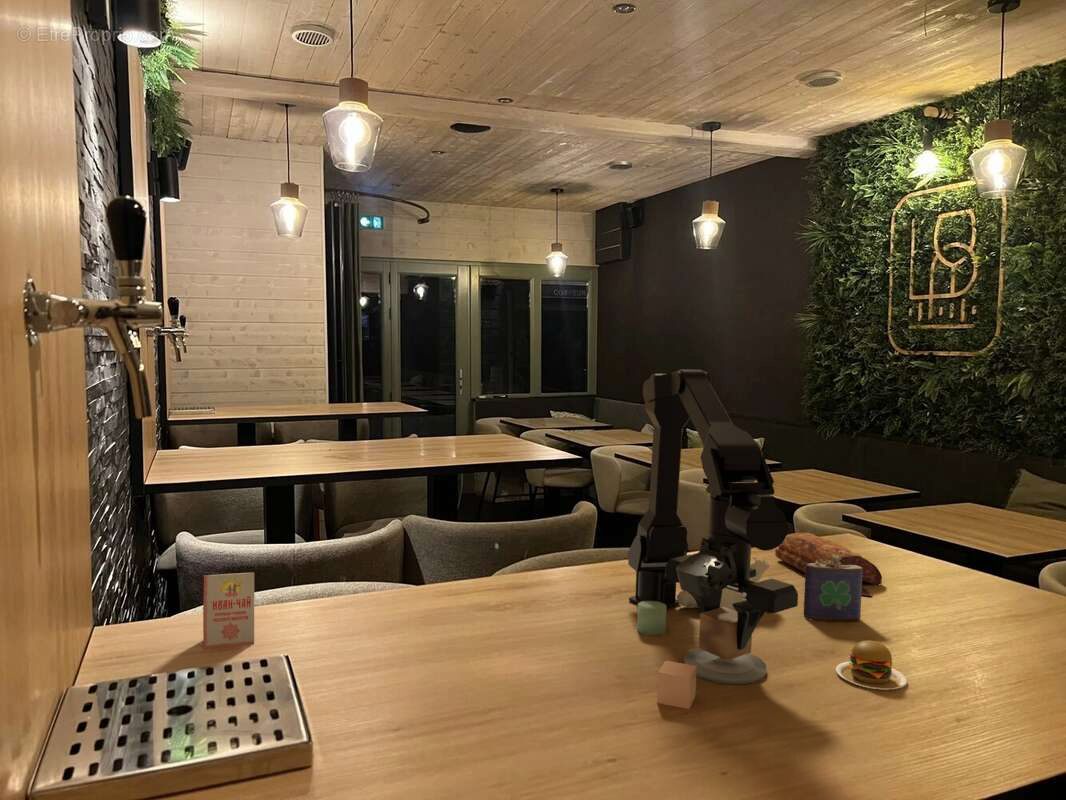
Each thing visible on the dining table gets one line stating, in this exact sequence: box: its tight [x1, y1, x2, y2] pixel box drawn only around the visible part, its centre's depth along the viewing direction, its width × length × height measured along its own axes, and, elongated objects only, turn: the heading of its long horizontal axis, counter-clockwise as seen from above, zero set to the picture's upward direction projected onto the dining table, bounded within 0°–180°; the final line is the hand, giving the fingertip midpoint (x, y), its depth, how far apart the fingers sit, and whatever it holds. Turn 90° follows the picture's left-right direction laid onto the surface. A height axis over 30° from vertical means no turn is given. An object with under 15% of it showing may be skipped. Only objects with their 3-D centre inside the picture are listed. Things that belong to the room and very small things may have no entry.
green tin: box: [636, 601, 667, 636], centre depth 123 cm, size 4×4×4 cm
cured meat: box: [774, 532, 883, 597], centre depth 155 cm, size 18×25×7 cm
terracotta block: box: [656, 660, 697, 710], centre depth 99 cm, size 4×4×4 cm
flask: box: [803, 555, 863, 622], centre depth 130 cm, size 9×3×11 cm, turn 88°
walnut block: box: [698, 607, 753, 660], centre depth 109 cm, size 5×5×5 cm
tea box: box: [202, 571, 255, 650], centre depth 115 cm, size 4×7×10 cm, turn 109°
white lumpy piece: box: [676, 556, 771, 611], centre depth 133 cm, size 15×7×15 cm
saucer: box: [683, 647, 767, 685], centre depth 110 cm, size 11×11×1 cm
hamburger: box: [835, 639, 908, 691], centre depth 107 cm, size 12×12×6 cm
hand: (725, 642), depth 109 cm, fingers closed on walnut block, 5 cm apart
